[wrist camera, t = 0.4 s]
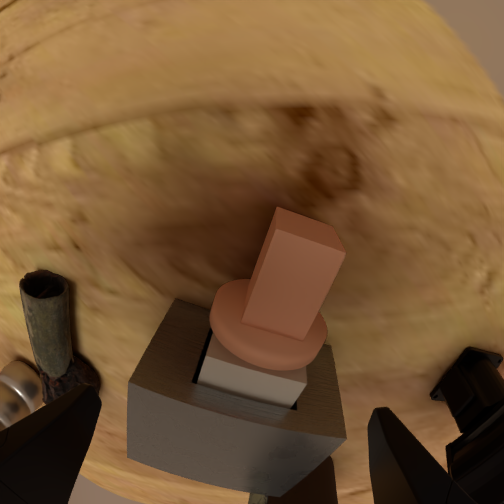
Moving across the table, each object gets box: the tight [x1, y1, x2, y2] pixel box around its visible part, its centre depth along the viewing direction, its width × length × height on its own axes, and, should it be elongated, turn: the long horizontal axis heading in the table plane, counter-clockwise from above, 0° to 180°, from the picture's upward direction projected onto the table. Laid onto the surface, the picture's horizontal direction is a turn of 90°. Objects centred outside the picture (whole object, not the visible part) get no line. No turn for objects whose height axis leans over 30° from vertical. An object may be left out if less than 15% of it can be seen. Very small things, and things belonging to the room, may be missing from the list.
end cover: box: [197, 207, 347, 409], centre depth 17 cm, size 6×15×6 cm, turn 162°
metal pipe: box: [19, 270, 100, 405], centre depth 23 cm, size 18×7×6 cm, turn 166°
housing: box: [127, 298, 347, 497], centre depth 19 cm, size 12×10×8 cm
